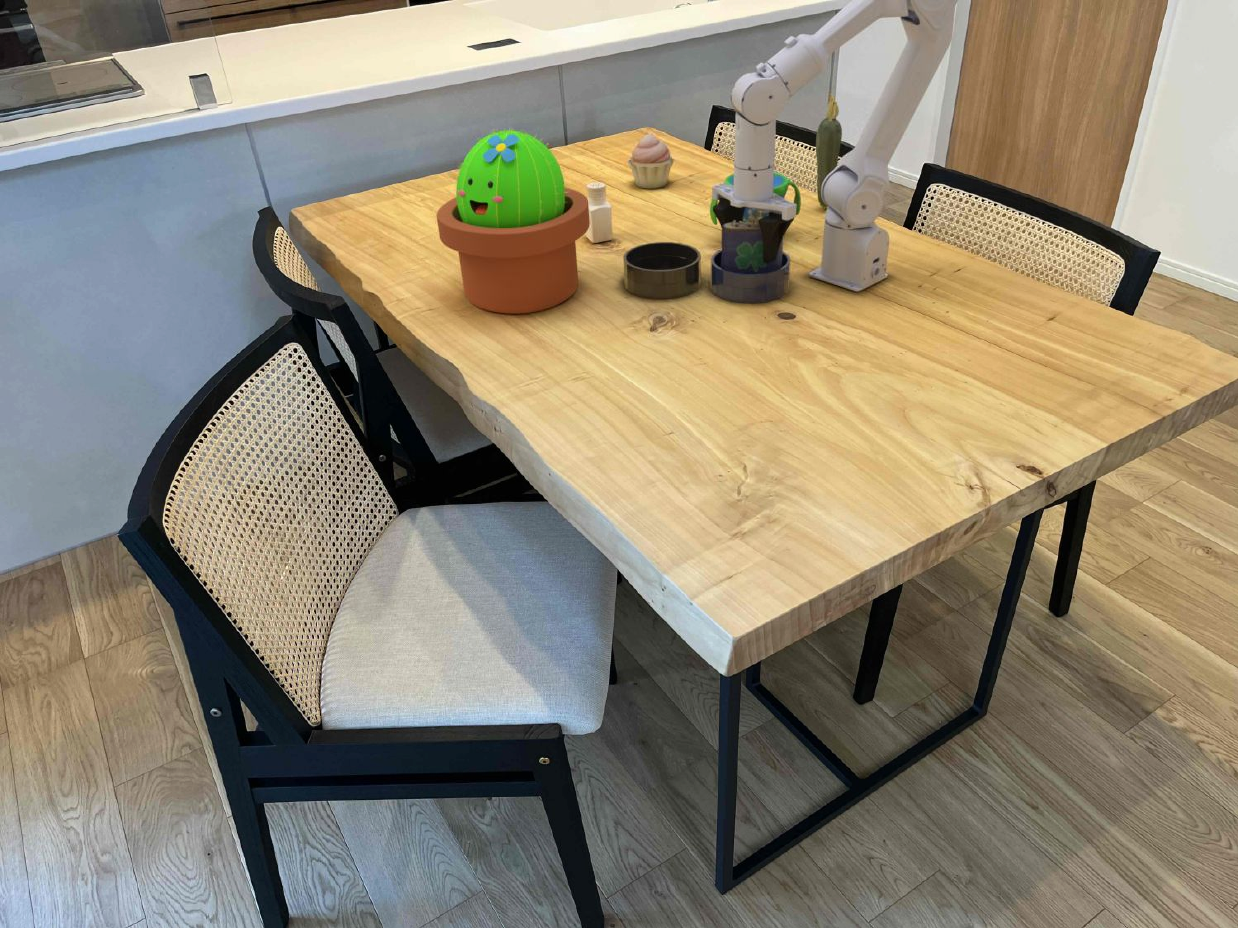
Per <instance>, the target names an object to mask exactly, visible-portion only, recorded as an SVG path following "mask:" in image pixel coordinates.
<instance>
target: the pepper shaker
mask: <svg viewBox="0 0 1238 928" xmlns="http://www.w3.org/2000/svg"><path fill="white" fill-rule="evenodd" d="M606 187H607V186H606V183H604V182H599V181H596V182H590V183H588V184H586V193H587V197H586V198H587V200H588V205H589V220H590V225H589V228H588V230H587V232H586V233H585V237H586V238H587V239H588V240H589V241H590V242H591V243H592V244H597V243H603V242H607V241H611V240H613V237H614V235H613V217H612V216H613V214H612V205H611V204H610V203H609V202H608V201H607V188H606Z"/></svg>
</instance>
